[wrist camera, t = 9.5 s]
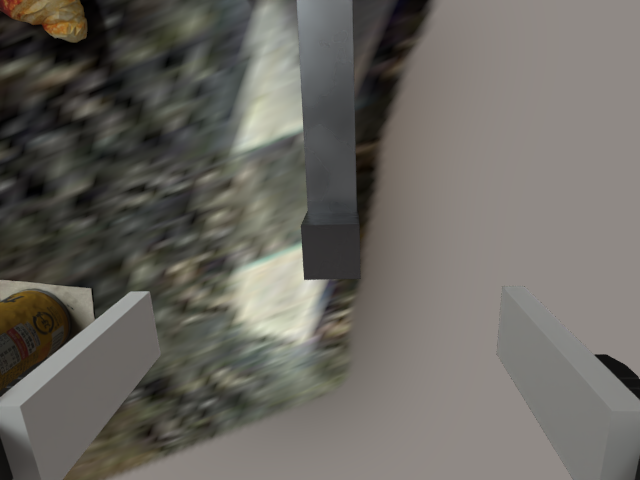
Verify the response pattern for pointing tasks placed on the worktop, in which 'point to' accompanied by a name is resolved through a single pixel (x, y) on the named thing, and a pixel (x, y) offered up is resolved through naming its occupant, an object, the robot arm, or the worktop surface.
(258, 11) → the worktop surface
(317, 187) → the bar
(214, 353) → the worktop surface
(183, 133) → the worktop surface
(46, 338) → the condiment
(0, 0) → the croissant
